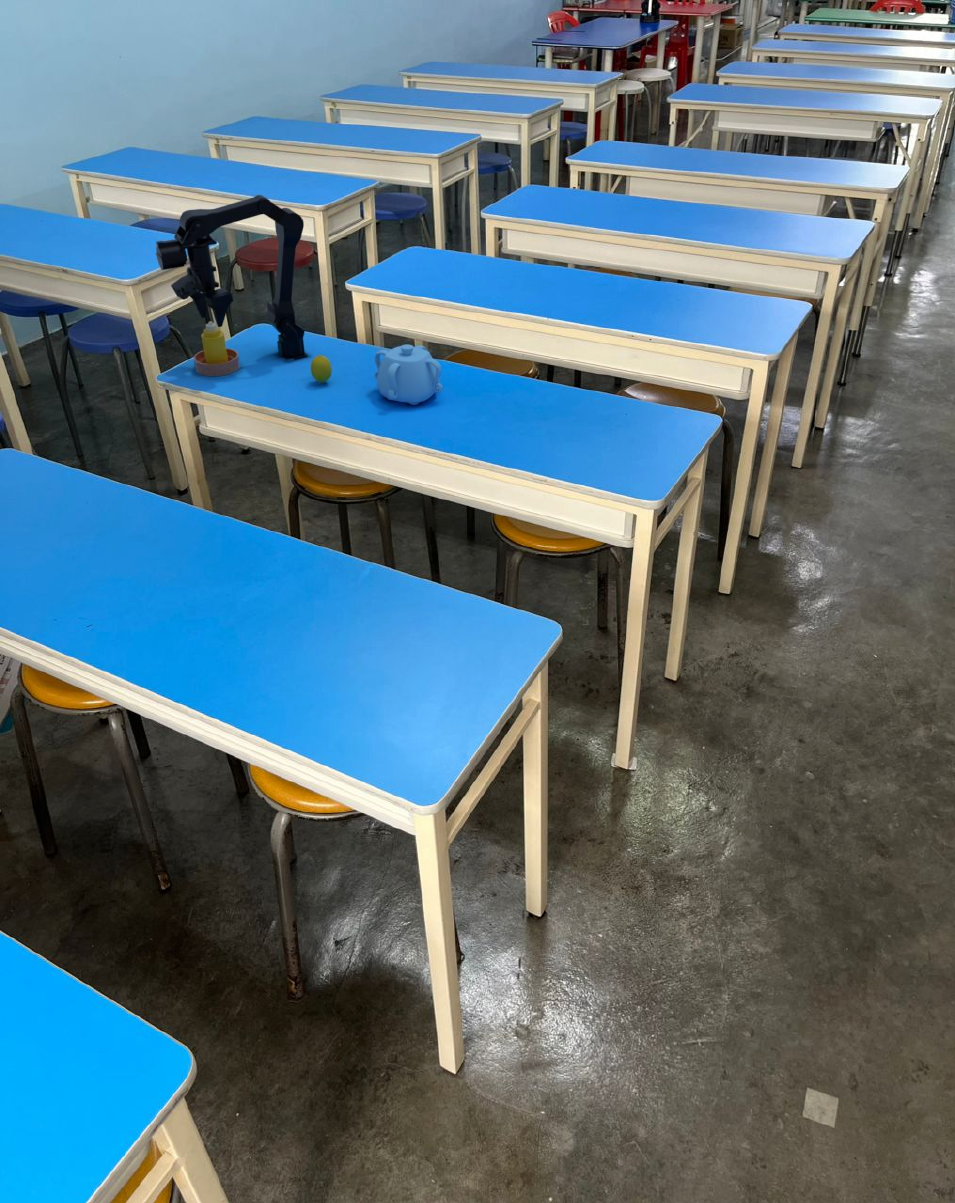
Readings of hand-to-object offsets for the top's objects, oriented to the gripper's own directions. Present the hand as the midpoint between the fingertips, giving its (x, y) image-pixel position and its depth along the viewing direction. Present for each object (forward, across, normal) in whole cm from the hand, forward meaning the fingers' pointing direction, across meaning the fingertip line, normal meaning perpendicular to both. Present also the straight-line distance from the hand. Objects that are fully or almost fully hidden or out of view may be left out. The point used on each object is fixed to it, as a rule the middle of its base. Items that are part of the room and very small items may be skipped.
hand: (211, 322), depth 253 cm
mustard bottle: (+13, 0, 0) cm, 13 cm away
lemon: (+14, +26, +16) cm, 34 cm away
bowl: (+14, 0, 0) cm, 14 cm away
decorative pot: (+14, +47, +29) cm, 58 cm away
